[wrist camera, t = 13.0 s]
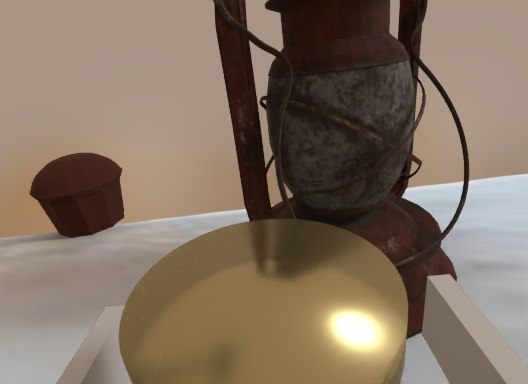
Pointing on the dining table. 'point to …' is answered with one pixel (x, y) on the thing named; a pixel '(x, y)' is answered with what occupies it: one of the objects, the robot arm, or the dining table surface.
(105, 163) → the muffin
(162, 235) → the dining table surface
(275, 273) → the lock pin
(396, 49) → the lantern
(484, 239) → the dining table surface
